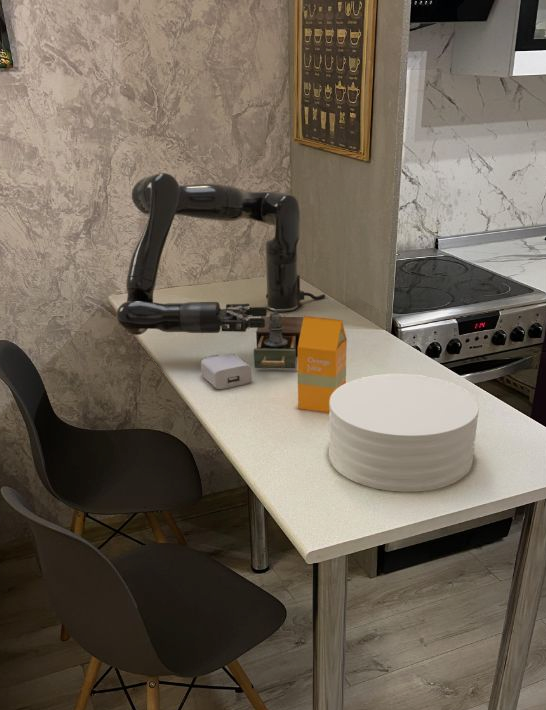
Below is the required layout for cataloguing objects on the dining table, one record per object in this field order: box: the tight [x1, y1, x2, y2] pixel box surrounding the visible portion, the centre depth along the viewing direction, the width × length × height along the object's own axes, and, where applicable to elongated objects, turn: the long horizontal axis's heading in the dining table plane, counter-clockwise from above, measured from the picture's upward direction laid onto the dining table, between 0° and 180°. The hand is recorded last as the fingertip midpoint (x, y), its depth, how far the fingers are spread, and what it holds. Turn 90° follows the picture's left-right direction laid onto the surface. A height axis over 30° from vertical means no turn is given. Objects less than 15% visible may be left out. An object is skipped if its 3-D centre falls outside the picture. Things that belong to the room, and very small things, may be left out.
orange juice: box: [297, 315, 348, 414], centre depth 164 cm, size 8×9×20 cm
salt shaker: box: [264, 309, 288, 349], centre depth 188 cm, size 6×6×12 cm
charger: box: [200, 353, 252, 390], centre depth 183 cm, size 5×9×15 cm
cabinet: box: [255, 316, 304, 357], centre depth 199 cm, size 12×11×6 cm
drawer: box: [253, 335, 297, 370], centre depth 188 cm, size 16×10×5 cm, turn 176°
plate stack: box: [328, 373, 480, 493], centre depth 145 cm, size 28×28×12 cm
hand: (265, 317), depth 186 cm, fingers open, 8 cm apart
